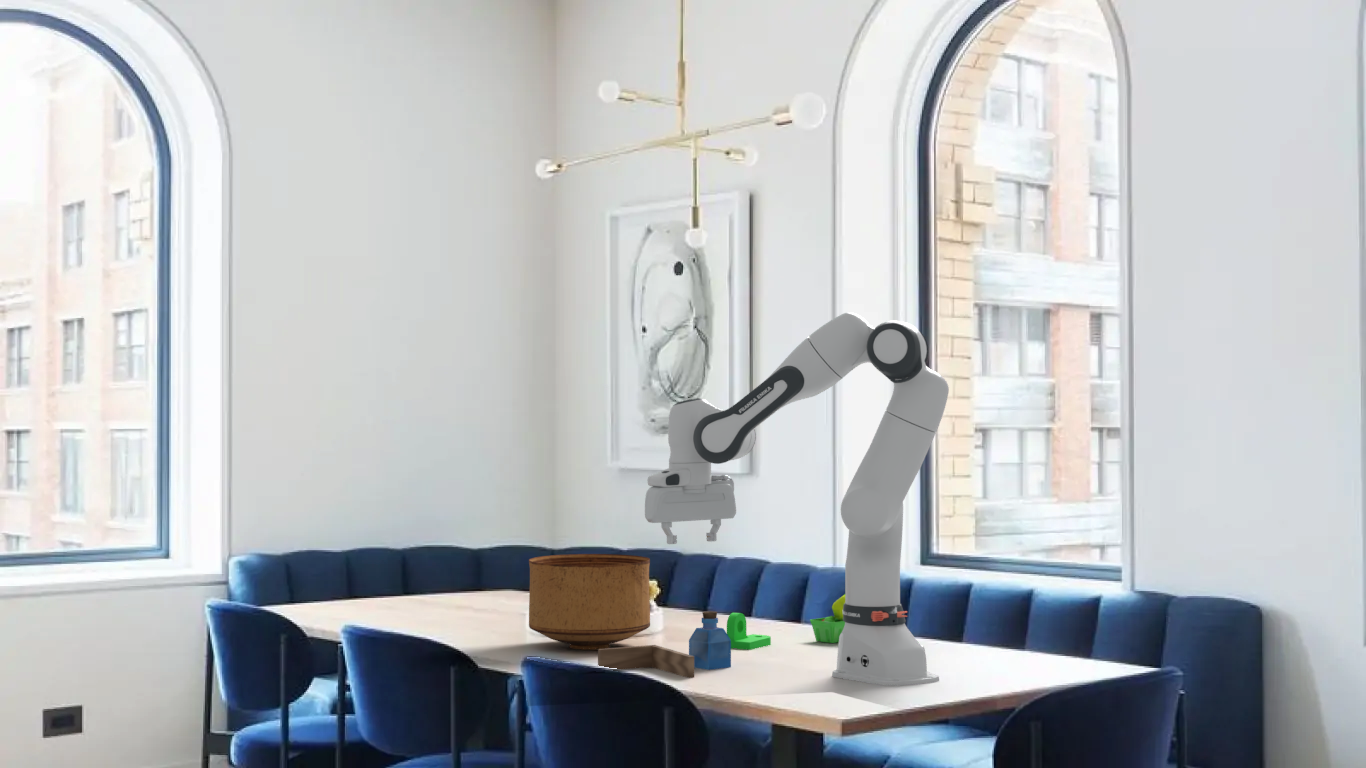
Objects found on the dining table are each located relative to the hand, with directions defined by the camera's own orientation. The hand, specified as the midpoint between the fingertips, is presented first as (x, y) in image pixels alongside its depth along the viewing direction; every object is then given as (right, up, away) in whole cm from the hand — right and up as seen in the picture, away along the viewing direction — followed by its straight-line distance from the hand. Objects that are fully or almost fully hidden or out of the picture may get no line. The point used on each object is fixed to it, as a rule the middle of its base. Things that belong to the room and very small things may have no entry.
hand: (691, 542), depth 350 cm
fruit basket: (+35, -27, +42) cm, 61 cm away
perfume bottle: (+4, -27, -1) cm, 27 cm away
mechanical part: (+14, -27, +33) cm, 45 cm away
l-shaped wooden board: (-9, -26, -11) cm, 30 cm away
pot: (-23, -27, +32) cm, 48 cm away
